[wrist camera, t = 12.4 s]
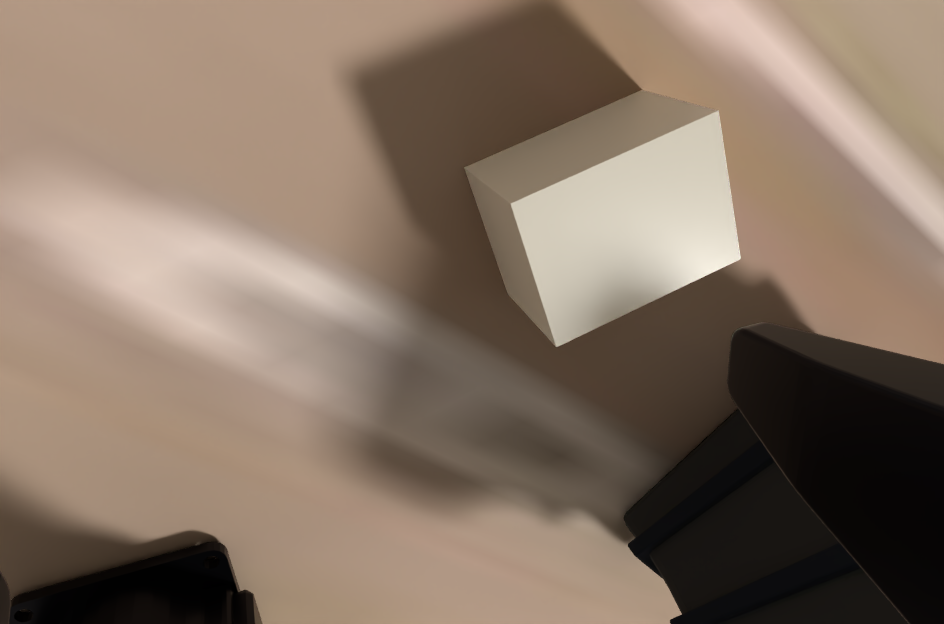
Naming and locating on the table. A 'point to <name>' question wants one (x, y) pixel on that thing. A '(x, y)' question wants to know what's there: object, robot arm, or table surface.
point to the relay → (608, 211)
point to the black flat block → (748, 542)
